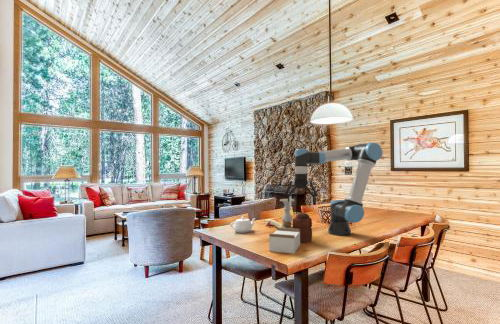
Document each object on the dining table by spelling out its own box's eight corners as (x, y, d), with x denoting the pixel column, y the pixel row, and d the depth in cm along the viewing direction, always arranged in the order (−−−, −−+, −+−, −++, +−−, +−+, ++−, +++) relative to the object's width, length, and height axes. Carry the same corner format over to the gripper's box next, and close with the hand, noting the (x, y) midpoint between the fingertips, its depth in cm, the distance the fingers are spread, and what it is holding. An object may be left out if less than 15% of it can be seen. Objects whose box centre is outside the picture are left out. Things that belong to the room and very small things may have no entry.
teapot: (235, 235, 192) (235, 219, 192) (225, 231, 204) (225, 216, 204) (261, 230, 204) (261, 216, 205) (251, 227, 216) (250, 213, 216)
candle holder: (295, 236, 188) (294, 200, 189) (278, 235, 191) (278, 200, 191) (295, 232, 199) (295, 198, 200) (280, 231, 201) (279, 198, 202)
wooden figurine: (308, 239, 179) (307, 211, 179) (313, 242, 173) (312, 213, 173) (291, 241, 176) (290, 212, 176) (295, 243, 170) (295, 214, 170)
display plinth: (300, 244, 168) (299, 228, 168) (294, 253, 151) (294, 235, 151) (277, 242, 173) (277, 227, 173) (269, 251, 156) (269, 233, 156)
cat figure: (289, 231, 208) (270, 222, 230) (290, 219, 208) (271, 212, 229) (279, 233, 203) (260, 224, 225) (279, 221, 203) (261, 213, 224)
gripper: (322, 173, 174) (322, 207, 174) (282, 173, 183) (283, 205, 183) (320, 173, 167) (321, 209, 167) (280, 173, 176) (280, 207, 175)
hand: (301, 207), depth 175 cm, fingers open, 13 cm apart
